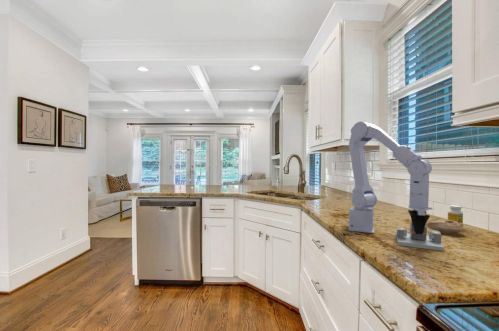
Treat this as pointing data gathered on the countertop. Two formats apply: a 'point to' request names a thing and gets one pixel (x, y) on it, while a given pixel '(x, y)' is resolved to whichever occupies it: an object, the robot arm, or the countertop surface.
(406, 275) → the countertop surface
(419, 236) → the block
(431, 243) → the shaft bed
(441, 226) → the pottery oil lamp
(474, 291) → the countertop surface
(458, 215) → the supplement bottle
